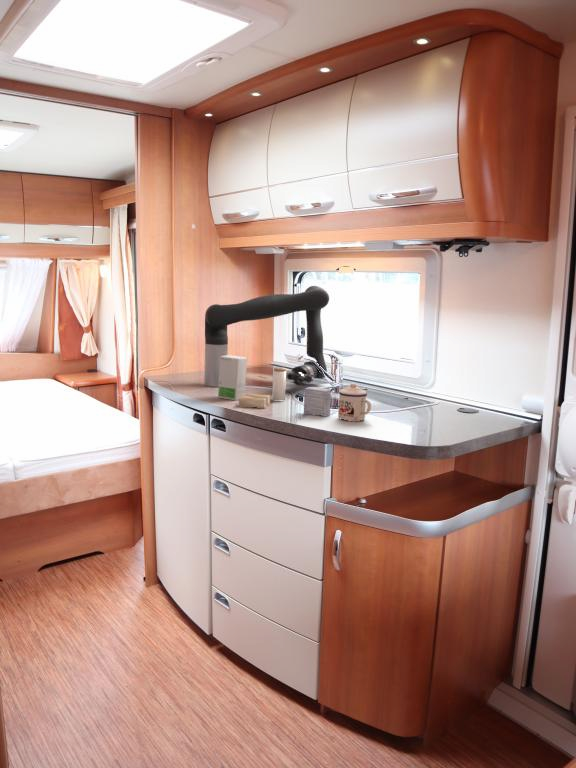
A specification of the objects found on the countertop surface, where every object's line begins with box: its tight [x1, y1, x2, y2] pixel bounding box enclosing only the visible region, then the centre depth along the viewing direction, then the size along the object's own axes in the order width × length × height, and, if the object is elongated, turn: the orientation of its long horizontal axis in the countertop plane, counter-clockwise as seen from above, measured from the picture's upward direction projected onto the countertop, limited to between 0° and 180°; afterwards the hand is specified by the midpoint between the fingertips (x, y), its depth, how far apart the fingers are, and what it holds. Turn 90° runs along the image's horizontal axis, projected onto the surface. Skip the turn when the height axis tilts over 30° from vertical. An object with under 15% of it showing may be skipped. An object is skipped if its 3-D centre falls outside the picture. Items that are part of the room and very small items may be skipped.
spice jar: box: [271, 366, 287, 401], centre depth 226 cm, size 5×5×12 cm
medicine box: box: [303, 386, 332, 417], centre depth 204 cm, size 8×4×9 cm, turn 59°
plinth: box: [238, 393, 271, 409], centre depth 215 cm, size 9×9×3 cm
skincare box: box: [217, 354, 248, 401], centre depth 226 cm, size 8×7×16 cm
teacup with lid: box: [337, 382, 372, 422], centre depth 198 cm, size 12×9×12 cm
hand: (288, 379), depth 235 cm, fingers open, 8 cm apart
